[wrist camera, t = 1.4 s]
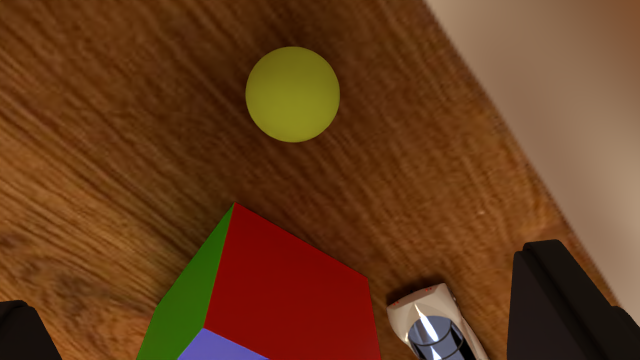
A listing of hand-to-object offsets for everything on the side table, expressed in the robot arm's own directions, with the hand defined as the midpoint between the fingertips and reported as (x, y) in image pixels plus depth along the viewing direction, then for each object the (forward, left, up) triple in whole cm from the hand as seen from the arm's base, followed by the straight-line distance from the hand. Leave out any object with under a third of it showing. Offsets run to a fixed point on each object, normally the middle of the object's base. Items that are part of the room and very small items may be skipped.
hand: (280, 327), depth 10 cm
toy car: (+16, +7, -13) cm, 21 cm away
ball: (-1, 0, -11) cm, 11 cm away
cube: (+10, -3, -13) cm, 17 cm away
